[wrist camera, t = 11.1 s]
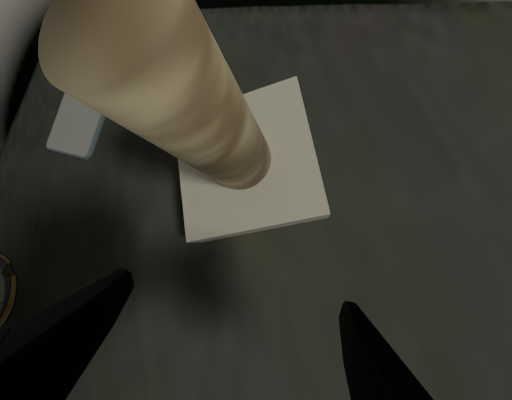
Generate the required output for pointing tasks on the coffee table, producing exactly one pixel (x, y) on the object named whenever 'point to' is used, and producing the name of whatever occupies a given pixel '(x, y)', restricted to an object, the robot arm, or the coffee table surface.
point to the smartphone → (75, 129)
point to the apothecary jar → (6, 289)
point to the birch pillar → (156, 81)
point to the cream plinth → (271, 186)
